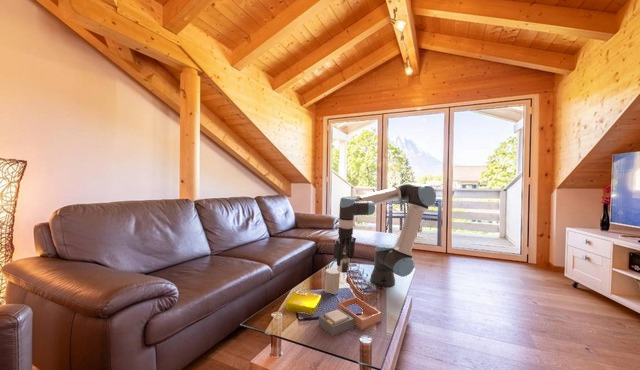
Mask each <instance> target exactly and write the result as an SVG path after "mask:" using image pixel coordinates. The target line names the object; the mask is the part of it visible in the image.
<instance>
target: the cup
mask: <svg viewBox="0 0 640 370" xmlns="http://www.w3.org/2000/svg"><path fill="white" fill-rule="evenodd" d="M340 278H341V272H339V271H337V268H336V267H327V268H326V269H325V277H324V279H325V280H324V292H325V293H326V292H328V293H336V292H338V291H339V292H340V280H341V279H340Z"/></svg>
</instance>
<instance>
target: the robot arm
mask: <svg viewBox="0 0 640 370" xmlns="http://www.w3.org/2000/svg"><path fill="white" fill-rule="evenodd" d="M436 200H437V194H436V191H435V189H434V187H433V186H431V185H430V184H426V183H418V182H404V183H401V184H397V185H393V186H392V187H391V188H387V189H386V188H385V189H383V190H379V191H373V192H371V193H370V192H369V193H365V194H361V195H356V196H342V197H341V198H340V202H339V215H338V216H339V219H338V229H337V230H338V231H337V232H338V237H337V239H334V240H333V244H334V247H333V248H334V249H333V259H335V260H336V266H337V268H336V269H337V271H339V272H340V273H342V260H341V258H342V254H343V253H344V248H345V253H347V254H348V270H347V271H350V264H351V259H352V258H353V257H354V256H355V246H356V241H357V238H356V237H353V235H354V233H353V232H354V218H355V217H357V216H371V215H372V216H373V215H374V213H375V211H376V205H381V204H385V203H389V202H392V201H395V202H399V201H405V202H406V201H407V206H408V209H407V212H406V216H405V218H404V221H403V225H402V228H401V231H400V234H399V237H398V240H397V243H396V245H392V244H386V243H385V244H383V243H382V244H377V245H376V246H375V248H374V249H375V250H374V262H373V268H372V272H371V274H370V278H369V280H370V281H371V283H373V284H374V285H376V286H379V287H392V286H394V285H395V284H396V278H395V275H397V276H398V277H407V276H408V275H410V274H411V273H412V272H413V271H414V269H415V261H414V260H413V256H414V255H413V252H412V250H413V247H414V243H415V241H416V237H417V235H418V232H419V229H420V225H421V222H422V219H423V216H424V212H426V211H428V209H429V207H431V206H433V204H435V202H436Z"/></svg>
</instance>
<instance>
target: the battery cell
mask: <svg viewBox="0 0 640 370" xmlns="http://www.w3.org/2000/svg"><path fill="white" fill-rule="evenodd" d="M341 260H342V272H341V273H345V274H346V273H348V271H349V270H348V254H347V253H346V252H343V254H342V258H341Z"/></svg>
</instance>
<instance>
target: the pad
mask: <svg viewBox="0 0 640 370" xmlns="http://www.w3.org/2000/svg"><path fill="white" fill-rule="evenodd" d="M324 314H325V313H324ZM325 318H326V319H327V320H330V321H331V322H332V323H333V324H334V325H335V324H338V323H340V322H343V321H345V320H348V316H346V315H345V314H343V313H342V312H341V311H339V310H338V309H334V310H332V311H331V310H330V311H329V312H326V314H325Z"/></svg>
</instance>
